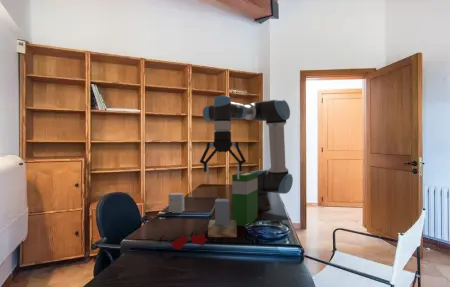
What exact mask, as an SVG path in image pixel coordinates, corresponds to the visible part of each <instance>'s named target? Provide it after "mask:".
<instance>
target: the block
mask: <svg viewBox="0 0 450 287" xmlns="http://www.w3.org/2000/svg"><path fill="white" fill-rule="evenodd" d="M214 220H215V225H229V220H230V198H216V199H215V200H214Z"/></svg>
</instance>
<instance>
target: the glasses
mask: <svg viewBox="0 0 450 287" xmlns="http://www.w3.org/2000/svg"><path fill="white" fill-rule="evenodd" d="M194 233H196V234H194ZM186 237H191V240H190V242H191V244H196V245H199V246H204V245H205V243H206V242H207V241H208V239H207V238H206V235H205V234H204V233H199V232H197V231H195V230H193V231H191V235H183V236H177V237H174V238H173V239H172V241H171V240H169V239H168V238H167V237H166V235H165V234H164V235H161V237H160V240H162V239H163V238H165V239H166V241H167V242H168V243H169V244H171V248H174V249H175V250H178V251H180V250H182V248H183V247H184V246H185V245H187V243H188V241H189V239H188V238H186ZM175 239H176V240H175Z"/></svg>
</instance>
